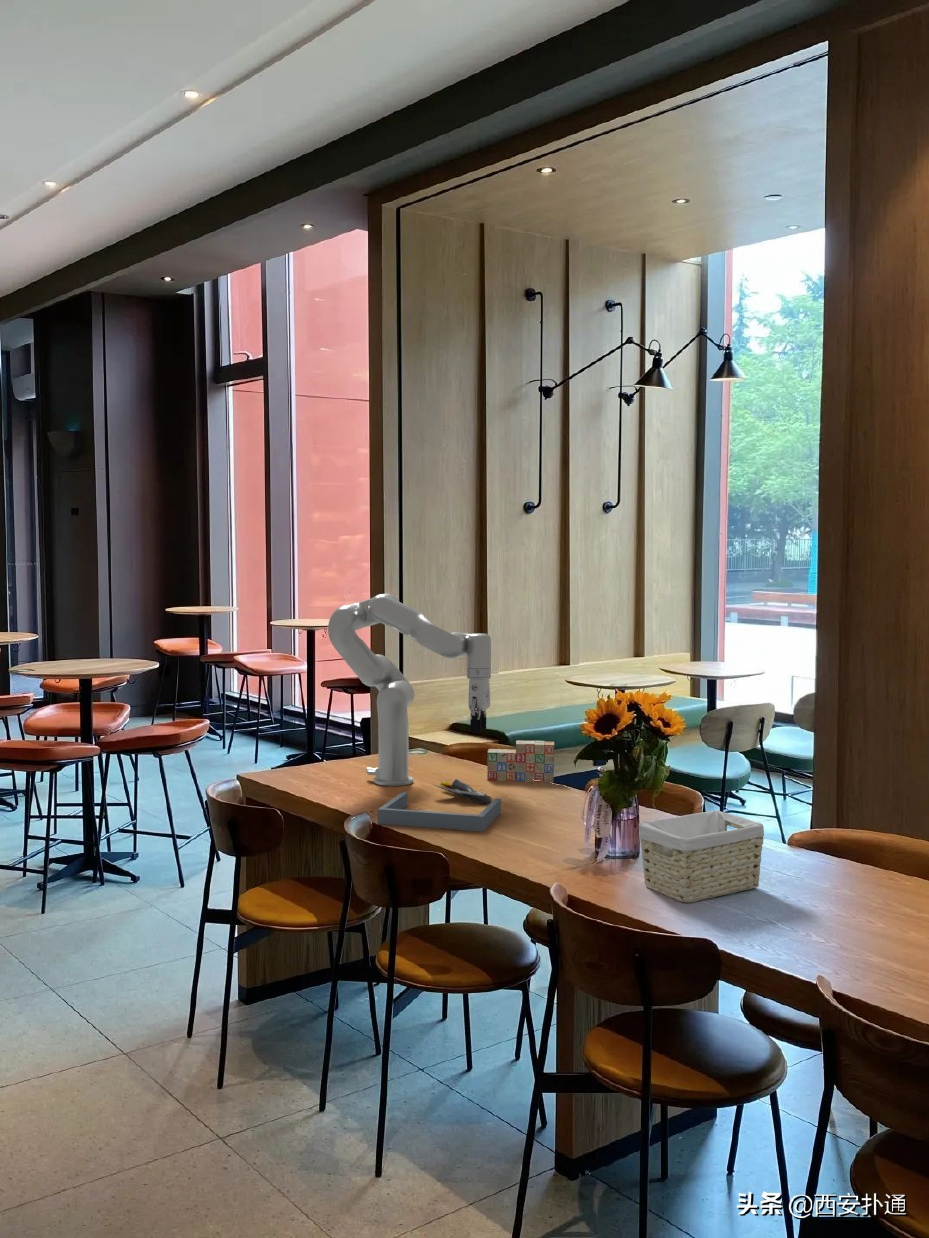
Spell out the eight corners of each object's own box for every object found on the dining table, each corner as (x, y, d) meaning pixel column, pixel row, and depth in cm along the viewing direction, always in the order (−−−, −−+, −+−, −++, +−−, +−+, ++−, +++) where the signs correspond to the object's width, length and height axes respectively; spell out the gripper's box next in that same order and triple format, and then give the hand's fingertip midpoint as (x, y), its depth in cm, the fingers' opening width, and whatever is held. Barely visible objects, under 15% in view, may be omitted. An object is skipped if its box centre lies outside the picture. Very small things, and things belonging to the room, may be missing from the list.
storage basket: (682, 907, 230) (683, 837, 229) (634, 886, 244) (635, 820, 243) (766, 890, 241) (768, 824, 240) (715, 870, 255) (717, 808, 254)
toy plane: (417, 787, 332) (421, 770, 332) (460, 793, 342) (464, 777, 342) (466, 807, 312) (470, 789, 312) (511, 813, 322) (515, 795, 322)
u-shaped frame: (377, 823, 296) (377, 809, 296) (402, 805, 317) (402, 791, 317) (482, 831, 289) (482, 816, 288) (501, 812, 309) (501, 798, 309)
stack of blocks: (486, 780, 351) (487, 742, 351) (488, 776, 358) (488, 739, 357) (553, 782, 350) (554, 744, 349) (554, 778, 356) (554, 740, 355)
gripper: (483, 677, 332) (483, 735, 333) (496, 670, 348) (496, 726, 350) (459, 676, 334) (459, 734, 335) (473, 669, 350) (473, 725, 352)
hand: (478, 730), depth 342 cm, fingers open, 6 cm apart
